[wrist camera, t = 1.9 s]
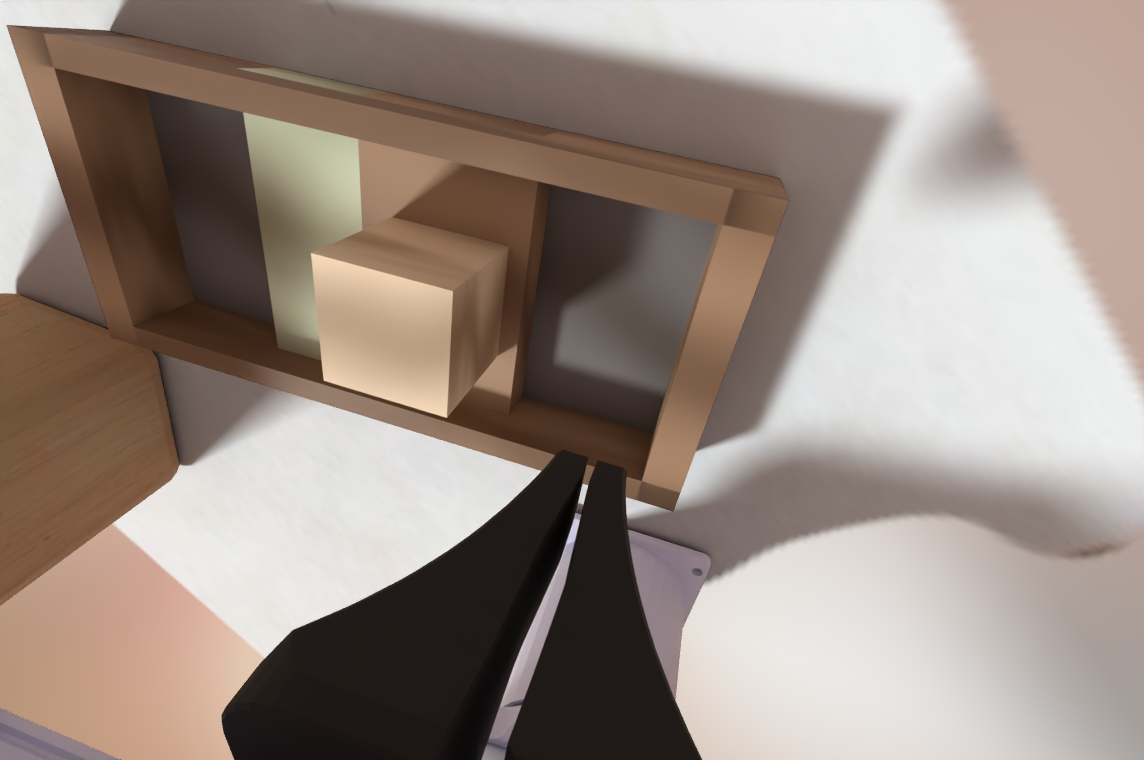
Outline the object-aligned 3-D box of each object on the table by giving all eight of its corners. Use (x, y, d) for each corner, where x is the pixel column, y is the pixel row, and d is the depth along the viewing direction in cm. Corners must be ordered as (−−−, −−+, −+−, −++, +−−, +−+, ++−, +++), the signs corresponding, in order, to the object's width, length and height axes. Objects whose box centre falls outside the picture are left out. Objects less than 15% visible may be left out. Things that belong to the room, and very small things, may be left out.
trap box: (680, 456, 24) (673, 511, 21) (177, 308, 27) (111, 337, 24) (780, 178, 18) (788, 201, 15) (107, 30, 21) (6, 25, 18)
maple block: (497, 355, 21) (446, 418, 18) (394, 326, 22) (323, 380, 18) (509, 246, 19) (453, 291, 15) (392, 216, 20) (311, 252, 16)
